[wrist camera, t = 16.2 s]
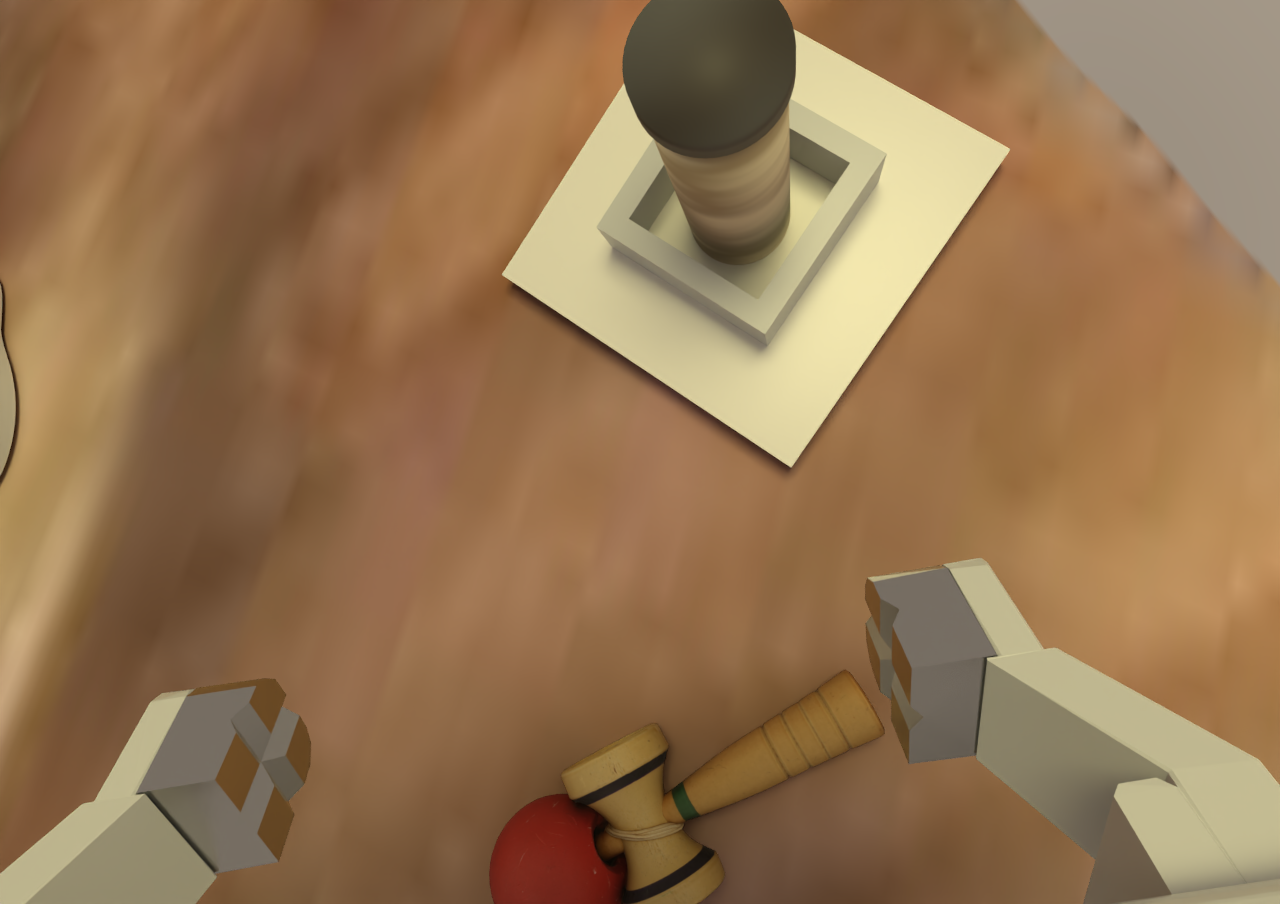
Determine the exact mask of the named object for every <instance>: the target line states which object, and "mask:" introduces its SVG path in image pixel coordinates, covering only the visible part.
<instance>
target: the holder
mask: <svg viewBox="0 0 1280 904" xmlns="http://www.w3.org/2000/svg"><path fill="white" fill-rule="evenodd" d="M793 30H794V29H793ZM794 33H795V40H796V77H795V84H794V88H793V92H792V96H791V98H790V101H789V134H790V222H789V226H788V229H787V232H786V234H785V236H784V238H783V240H782V241H781V243H780V244H779V245H778V247H777V248H776V249H775V250H774V251H773V252H771V253H770V254H769V255H768V256H766V257H764V258H763V259H761V260H758V261H756V262H753V263H750V264H745V265H730V264H725V263H722V262H719V261H717V260H715V259H713V258H711V257H710V256H708V255H707V254H706V253H705V252H704V251H703V250H702V249H701V248H700V247H699V245H698V244H697V242H696V240H695V238H694V236H693V233H692V231H691V229H690V226H689V224H688V221H687V219H686V216H685V214H684V212H683V209H682V207H681V204H680V202H679V199H678V197H677V195H676V192H675V190H674V187H673V185H672V182H671V180H670V178H669V175H668V173H667V170H666V168H665V165H664V163H663V161H662V158H661V156H660V153H659V151H658V148H657V146H656V144H655V141H654V139H653V138H652V137H651V136H650V135H649V134H648V133H647V132H646V130H645V129H644V128H643V126H642V125H641V123H640V121H639V120H638V118H637V116H636V113H635V111H634V109H633V106H632V104H631V102H630V99H629V97H628V94H627V92H626V88H625V84H623V86H622V87H621V89H620V91H619V92H618V94H617V95H616V97H615V98H614V100H613V102H612V103H611V105H610V106H609V108H608V109H607V111H606V112H605V114H604V116H603V117H602V119H601V120H600V122H599V123H598V125H597V127H596V128H595V130H594V131H593V133H592V134H591V136H590V138H589V139H588V141H587V142H586V144H585V145H584V147H583V149H582V150H581V152H580V153H579V155H578V156H577V158H576V159H575V161H574V163H573V164H572V166H571V167H570V169H569V170H568V172H567V174H566V175H565V177H564V178H563V180H562V181H561V183H560V185H559V186H558V188H557V189H556V191H555V192H554V194H553V195H552V197H551V199H550V200H549V202H548V203H547V205H546V206H545V208H544V210H543V211H542V213H541V214H540V216H539V217H538V219H537V221H536V222H535V224H534V225H533V227H532V228H531V230H530V231H529V233H528V235H527V236H526V238H525V239H524V241H523V242H522V244H521V246H520V247H519V249H518V250H517V252H516V253H515V255H514V257H513V258H512V260H511V261H510V263H509V264H508V266H507V268H506V269H505V271H504V272H503V274H502V275H503V276H504V277H506V278H507V279H509V280H510V281H512V282H513V283H514V284H516V285H517V286H519V287H520V288H522V289H523V290H525V291H526V292H528V293H529V294H531V295H532V296H534V297H535V298H537V299H538V300H540V301H541V302H543V303H544V304H546V305H547V306H549V307H550V308H552V309H553V310H555V311H556V312H558V313H559V314H561V315H562V316H564V317H565V318H567V319H568V320H570V321H571V322H573V323H574V324H576V325H577V326H579V327H580V328H582V329H583V330H585V331H586V332H588V333H589V334H591V335H592V336H594V337H595V338H597V339H598V340H600V341H601V342H603V343H604V344H606V345H607V346H609V347H610V348H612V349H613V350H615V351H616V352H618V353H619V354H621V355H622V356H624V357H625V358H627V359H628V360H630V361H631V362H633V363H634V364H636V365H637V366H639V367H640V368H642V369H643V370H645V371H646V372H648V373H649V374H651V375H652V376H654V377H655V378H657V379H658V380H660V381H661V382H663V383H664V384H666V385H667V386H669V387H670V388H672V389H673V390H675V391H676V392H678V393H679V394H681V395H682V396H684V397H685V398H687V399H688V400H690V401H691V402H693V403H694V404H696V405H697V406H699V407H700V408H702V409H703V410H705V411H706V412H708V413H709V414H711V415H712V416H714V417H715V418H717V419H718V420H720V421H721V422H723V423H724V424H726V425H727V426H729V427H730V428H732V429H733V430H735V431H736V432H738V433H739V434H741V435H742V436H744V437H745V438H747V439H748V440H750V441H751V442H753V443H754V444H756V445H757V446H759V447H760V448H762V449H763V450H765V451H766V452H768V453H769V454H771V455H772V456H774V457H775V458H777V459H778V460H780V461H781V462H783V463H784V464H786V465H787V466H789V467H790V468H792V466H793V465H794V463H795V462H796V460H797V459H798V458H799V456H800V455H801V453H802V452H803V450H804V449H805V447H806V446H807V445H808V443H809V442H810V440H811V439H812V437H813V436H814V434H815V433H816V431H817V430H818V429H819V427H820V426H821V424H822V423H823V421H824V420H825V418H826V417H827V415H828V414H829V413H830V411H831V410H832V408H833V407H834V405H835V404H836V402H837V401H838V399H839V398H840V397H841V395H842V394H843V392H844V391H845V389H846V388H847V386H848V385H849V384H850V382H851V381H852V379H853V378H854V376H855V375H856V373H857V372H858V370H859V369H860V368H861V366H862V365H863V363H864V362H865V360H866V359H867V357H868V356H869V354H870V353H871V352H872V350H873V349H874V347H875V346H876V344H877V343H878V341H879V340H880V339H881V337H882V336H883V334H884V333H885V331H886V330H887V328H888V327H889V325H890V324H891V323H892V321H893V320H894V318H895V317H896V315H897V314H898V312H899V311H900V309H901V308H902V307H903V305H904V304H905V302H906V301H907V299H908V298H909V296H910V295H911V293H912V292H913V291H914V289H915V288H916V286H917V285H918V283H919V282H920V280H921V279H922V278H923V276H924V275H925V273H926V272H927V270H928V269H929V267H930V266H931V264H932V263H933V262H934V260H935V259H936V257H937V256H938V254H939V253H940V251H941V250H942V248H943V247H944V246H945V244H946V243H947V241H948V240H949V238H950V237H951V235H952V234H953V232H954V231H955V230H956V228H957V227H958V225H959V224H960V222H961V221H962V219H963V218H964V217H965V215H966V214H967V212H968V211H969V209H970V208H971V206H972V205H973V203H974V202H975V201H976V199H977V198H978V196H979V195H980V193H981V192H982V190H983V189H984V187H985V186H986V185H987V183H988V182H989V180H990V179H991V177H992V176H993V174H994V173H995V171H996V170H997V169H998V167H999V166H1000V164H1001V163H1002V161H1003V160H1004V158H1005V157H1006V155H1007V154H1008V152H1009V151H1010V149H1009V148H1007V147H1006V146H1004V145H1002V144H1000V143H998V142H997V141H995V140H993V139H991V138H989V137H988V136H986V135H984V134H982V133H980V132H978V131H977V130H975V129H973V128H971V127H969V126H968V125H966V124H964V123H962V122H960V121H959V120H957V119H955V118H953V117H951V116H949V115H948V114H946V113H944V112H942V111H940V110H939V109H937V108H935V107H933V106H931V105H930V104H928V103H926V102H924V101H922V100H921V99H919V98H917V97H915V96H913V95H911V94H910V93H908V92H906V91H904V90H902V89H901V88H899V87H897V86H895V85H893V84H892V83H890V82H888V81H886V80H884V79H883V78H881V77H879V76H877V75H875V74H873V73H872V72H870V71H868V70H866V69H864V68H863V67H861V66H859V65H857V64H855V63H854V62H852V61H850V60H848V59H846V58H844V57H843V56H841V55H839V54H837V53H835V52H834V51H832V50H830V49H828V48H826V47H825V46H823V45H821V44H819V43H817V42H816V41H814V40H812V39H810V38H808V37H806V36H805V35H803V34H801V33H799V32H797V31H796V30H794Z"/></svg>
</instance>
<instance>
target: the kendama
mask: <svg viewBox="0 0 1280 904" xmlns="http://www.w3.org/2000/svg"><path fill="white" fill-rule="evenodd" d="M884 734H885V733H884V728H883V726H882V723H881V721H880V719H879V717H878V716H877V714H876V712H875V710H874V708H873V706H872V705H871V704H870V701H869V700H868V698H867V697H866V695H865V693H864V692H863V690H862V689H861V687H860V686H859V684H858V683H857V682H856V680H855V679H854V677H853V676H852V674H851V673H850V672H848V671H847V670H844V671H842V672H840V673H839V674H838V675H836V676H835V677H834V678H832V679H831V680H829V681H828V682H826V683H825V684H823V685H822V686H821V687H819V688H818V691H817V692H812V693H810V694H809V695H807V696H806V697H804V698H803V699H801V700H800V701H799V702H798V703H796V704H794V705H792V706H791V707H789V708H788V709H786V710H784V711H783V712H782V714H781V715H777V716H775V717H774V718H772V719H771V720H769V721H767V722H766V723H765V724H764V725H763V727H758V728H757V729H755V730H753V731H752V732H750V733H749V734H747V735H745V736H744V737H742V738H741V739H739V740H738V741H736V742H735V743H733V744H732V745H730V746H729V747H727V748H726V749H725V750H723V751H722V752H720V753H719V754H718V755H716V756H715V757H713V758H712V759H711V760H710V761H708V762H707V763H706V764H704V765H703V766H702V767H701V768H699V769H698V770H697V771H695V772H694V773H693V774H691V775H690V776H689V777H688V778H686V779H685V780H684V781H682V782H681V783H680V784H678V785H677V786H676V787H675V788H673V789H672V790H670V791H669V792H668V793H667V794H664V786H663V768H664V761H665V758H666V753H667V749H668V747H669V745H668V743H667V741H666V739H665V737H664V735H663V733H662V732H661V730H660V728H659V726H658V724H657V723H652V724H649V725H647V726H645V727H643V728H642V729H640V730H638V731H635V732H633V733H631V734H629V735H627V736H625V737H623V738H621V739H619V740H617V741H615V742H613V743H612V744H610V745H608V746H606V747H604V748H602V749H600V750H598V751H597V752H595V753H593V754H592V755H590V756H588V757H586V758H584V759H582V760H580V761H579V762H577V763H576V764H574V765H572V766H570V767H569V768H567V769H565V770H564V771H563V772H562V774H561V778H562V781H563V783H564V786H565V788H566V791H567V793H568V794H556V795H550V796H545V797H542V798H539V799H537V800H535V801H533V802H531V803H529V804H528V805H526V806H525V807H523V808H522V809H521V810H519V811H518V812H517V813H516V814H515V815H514V816H513V817H512V818H511V819H510V820H509V822H508V823H507V824H506V826H505V827H504V829H503V830H502V832H501V834H500V836H499V837H498V839H497V842H496V844H495V847H494V850H493V853H492V857H491V862H490V872H489V877H490V888H491V893H492V898H493V901H494V904H698V903H699V902H701V901H702V900H704V899H705V898H706V897H708V896H709V895H710V894H711V893H712V892H713V891H714V890H715V889H716V888H718V887H719V885H720V884H721V882H722V881H723V879H724V876H725V872H724V869H723V867H722V864H721V861H720V859H719V856H718V854H717V852H716V851H714V850H712V849H710V848H707V847H705V846H703V845H701V844H699V843H698V842H696V841H694V840H693V839H691V838H690V837H689V836H688V835H687V834H686V833H685V832H684V831H683V830H682V829H683V826H684V822H685V821H687V820H690V819H693V818H696V817H699V816H701V815H704V814H706V813H709V812H712V811H714V810H717V809H720V808H722V807H725V806H728V805H730V804H733V803H736V802H738V801H740V800H743V799H745V798H748V797H750V796H753V795H755V794H757V793H759V792H762V791H764V790H766V789H768V788H770V787H772V786H774V785H777V784H779V783H781V782H783V781H785V780H787V779H788V778H789V776H792V777H793V776H795V775H797V774H799V773H802V772H804V771H806V770H807V769H809V768H810V766H812V767H814V766H816V765H819V764H821V763H823V762H825V761H827V760H829V758H833V757H836V756H838V755H840V754H842V753H844V752H846V751H848V749H849V748H855V747H858V746H860V745H862V744H864V743H867V742H869V741H872V740H874V739H876V738H879V737H881V736H883V735H884Z"/></svg>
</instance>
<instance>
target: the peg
mask: <svg viewBox="0 0 1280 904" xmlns="http://www.w3.org/2000/svg"><path fill="white" fill-rule="evenodd" d="M795 77H796V40H795V33H794V30H793V26H792V22H791V20H790V18H789V16H788V13H787V12H786V10H785V8H784V7H783V5H782V4H781V2H780V1H779V0H651V1H650V2H649V3H648V4H647V5H646V7H645V8H644V9H643V10H642V12H641V13H640V14H639V16H638V17H637V19H636V21H635V22H634V24H633V26H632V28H631V30H630V33H629V35H628V38H627V41H626V45H625V48H624V55H623V79H624V84H625V88H626V92H627V94H628V97H629V99H630V102H631V104H632V106H633V109H634V111H635V113H636V116H637V118H638V120H639V121H640V123H641V125H642V126H643V128H644V129H645V130H646V132H647V133H648V134H649V135H650V136H651V137H652V138H653V139H654V141H655V144H656V146H657V148H658V151H659V153H660V156H661V158H662V161H663V163H664V165H665V168H666V170H667V173H668V175H669V178H670V180H671V182H672V185H673V187H674V190H675V192H676V195H677V197H678V199H679V202H680V204H681V207H682V209H683V212H684V214H685V216H686V219H687V221H688V224H689V226H690V229H691V231H692V233H693V236H694V238H695V240H696V242H697V244H698V245H699V247H700V248H701V249H702V250H703V251H704V252H705V253H706V254H707V255H708V256H710V257H711V258H713V259H715V260H717V261H719V262H722V263H725V264H730V265H745V264H750V263H753V262H756V261H758V260H761V259H763V258H764V257H766V256H768V255H769V254H770V253H771V252H773V251H774V250H775V249H776V248H777V247H778V245H779V244H780V243H781V241H782V240H783V238H784V236H785V234H786V232H787V229H788V226H789V222H790V134H789V101H790V98H791V96H792V92H793V88H794V84H795Z"/></svg>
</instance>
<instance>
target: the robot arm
mask: <svg viewBox="0 0 1280 904" xmlns="http://www.w3.org/2000/svg"><path fill="white" fill-rule="evenodd" d="M1 320H2V290H1V285H0V475H1V473H2V471H3V469H4V466H5V464H6V461H7V458H8V455H9V452H10V448H11V444H12V439H13V434H14V426H15V415H16V401H15V389H14V382H13V376H12V372H11V368H10V364H9V361H8V358H7V354H6V351H5V348H4V344H3V340H2V335H1ZM865 600H866V603H867V605H868V607H869V610H870V612H871V615H872V616H871V617H870V618H869V619H868V621H867V622H866V641H867V647H868V653H869V659H870V663H871V666H872V670H873V673H874V676H875V679H876V682H877V684H878V687H879V690H880V692H881V693H882V694H884V695H885V696H887V697H888V698H890V699H891V721H892V723H893V726H894V728H895V731H896V733H897V736H898V738H899V741H900V743H901V746H902V748H903V751H904V753H905V756H906V758H907V760H908V763H909V764H913V763H920V762H928V761H936V760H944V759H952V758H959V757H967V756H975V755H976V759H977V760H978V761H979V762H981V763H982V764H983V765H984V766H985V767H986V768H988V769H989V770H990V771H991V772H992V773H994V774H995V775H996V776H997V777H998V778H999V779H1001V780H1002V781H1003V782H1004V783H1005V784H1007V785H1008V786H1009V787H1010V788H1011V789H1012V790H1014V791H1015V792H1016V793H1017V794H1018V795H1020V796H1021V797H1022V798H1023V799H1024V800H1026V801H1027V802H1028V803H1029V804H1030V805H1031V806H1033V807H1034V808H1035V809H1036V810H1037V811H1039V812H1040V813H1041V814H1042V815H1043V816H1044V817H1046V818H1047V819H1048V820H1049V821H1050V822H1052V823H1053V824H1054V825H1055V826H1056V827H1057V828H1059V829H1060V830H1061V831H1062V832H1063V833H1065V834H1066V835H1067V836H1068V837H1069V838H1070V839H1072V840H1073V841H1074V842H1075V843H1076V844H1078V845H1079V846H1080V847H1081V848H1082V849H1083V850H1085V851H1086V852H1087V853H1088V854H1089V855H1091V856H1092V857H1093V858H1094V859H1095V860H1096V861H1095V864H1094V868H1093V871H1092V875H1091V878H1090V882H1089V885H1088V889H1087V892H1086V896H1085V899H1084V903H1083V904H1280V785H1279V784H1278V783H1277V781H1276V780H1275V779H1274V778H1273V777H1272V775H1271V774H1270V773H1269V772H1268V770H1267V769H1266V768H1265V767H1264V765H1263V764H1262V763H1261V762H1260V761H1259V759H1257V758H1255V757H1253V756H1251V755H1249V754H1248V753H1246V752H1244V751H1242V750H1240V749H1239V748H1237V747H1235V746H1233V745H1231V744H1230V743H1228V742H1226V741H1224V740H1222V739H1221V738H1219V737H1217V736H1215V735H1213V734H1212V733H1210V732H1208V731H1206V730H1204V729H1202V728H1201V727H1199V726H1197V725H1195V724H1193V723H1192V722H1190V721H1188V720H1186V719H1184V718H1183V717H1181V716H1179V715H1177V714H1175V713H1174V712H1172V711H1170V710H1168V709H1166V708H1164V707H1163V706H1161V705H1159V704H1157V703H1155V702H1154V701H1152V700H1150V699H1148V698H1146V697H1145V696H1143V695H1141V694H1139V693H1137V692H1136V691H1134V690H1132V689H1130V688H1128V687H1127V686H1125V685H1123V684H1121V683H1119V682H1117V681H1116V680H1114V679H1112V678H1110V677H1108V676H1107V675H1105V674H1103V673H1101V672H1099V671H1098V670H1096V669H1094V668H1092V667H1090V666H1089V665H1087V664H1085V663H1083V662H1081V661H1080V660H1078V659H1076V658H1074V657H1072V656H1070V655H1069V654H1067V653H1065V652H1063V651H1061V650H1060V649H1058V648H1049V649H1044V648H1043V647H1042V645H1041V644H1040V642H1039V641H1038V639H1037V637H1036V636H1035V634H1034V633H1033V631H1032V630H1031V628H1030V627H1029V625H1028V624H1027V622H1026V621H1025V619H1024V618H1023V616H1022V614H1021V613H1020V611H1019V610H1018V608H1017V607H1016V605H1015V604H1014V602H1013V601H1012V599H1011V598H1010V596H1009V594H1008V593H1007V591H1006V590H1005V588H1004V587H1003V585H1002V584H1001V582H1000V581H999V579H998V578H997V576H996V575H995V573H994V571H993V570H992V568H991V567H990V565H989V564H988V562H986V561H985V560H983V559H982V558H977V559H971V560H965V561H960V562H954V563H948V564H943V565H942V566H940V565H937V566H932V567H926V568H920V569H915V570H909V571H903V572H898V573H892V574H886V575H881V576H875V577H869V578H867V580H866V584H865ZM285 697H286V694H285V692H284V691H283V689H282V688H281V687H280V685H279V684H278V682H277V681H276V679H267V678H263V679H256V680H249V681H242V682H235V683H228V684H221V685H213V686H206V687H199V688H196V689H190V690H183V691H176V692H168V693H162V694H161V695H159V696H158V697H157V698H155V699H154V700H153V701H151V702H150V704H149V706H148V707H147V709H146V711H145V713H144V714H143V716H142V718H141V720H140V721H139V723H138V725H137V727H136V729H135V730H134V732H133V734H132V736H131V737H130V739H129V741H128V743H127V744H126V746H125V748H124V750H123V751H122V753H121V755H120V757H119V759H118V760H117V762H116V764H115V766H114V767H113V769H112V771H111V773H110V774H109V776H108V778H107V780H106V781H105V783H104V785H103V787H102V788H101V790H100V792H99V794H98V796H97V797H96V799H95V801H94V802H89V803H83V804H82V805H80V806H79V807H78V808H77V809H76V810H75V811H73V812H72V813H71V814H70V815H69V816H68V817H66V818H65V819H64V820H63V821H62V822H60V823H59V824H58V825H57V826H56V827H55V828H53V829H52V830H51V831H50V832H49V833H47V834H46V835H45V836H44V837H43V838H42V839H40V840H39V841H38V842H37V843H36V844H35V845H33V846H32V847H31V848H30V849H29V850H27V851H26V852H25V853H24V854H23V855H22V856H20V857H19V858H18V859H17V860H16V861H14V862H13V863H12V864H11V865H10V866H9V867H7V868H6V869H5V870H4V871H3V872H2V873H0V904H196V903H197V901H198V900H199V899H200V898H201V896H202V895H203V894H204V893H205V891H206V890H207V889H208V888H209V886H210V885H211V884H212V883H213V881H214V880H215V879H216V878H217V875H216V873H221V872H227V871H232V870H238V869H243V868H248V867H254V866H259V865H265V864H270V863H275V862H279V860H280V857H281V854H282V851H283V848H284V845H285V841H286V838H287V835H288V832H289V829H290V826H291V823H292V820H293V817H294V812H293V810H292V808H291V806H290V804H289V800H290V799H291V798H292V797H293V796H294V794H295V793H296V792H297V791H298V790H299V789H300V788H301V787H302V786H303V785H304V784H305V780H306V777H307V774H308V770H309V767H310V757H311V741H310V738H309V734H308V731H307V727H306V725H305V724H304V722H303V721H302V719H301V717H300V716H299V715H297V714H295V713H293V712H291V711H290V710H288V709H286V708H284V707H282V705H283V702H284V700H285Z"/></svg>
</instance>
